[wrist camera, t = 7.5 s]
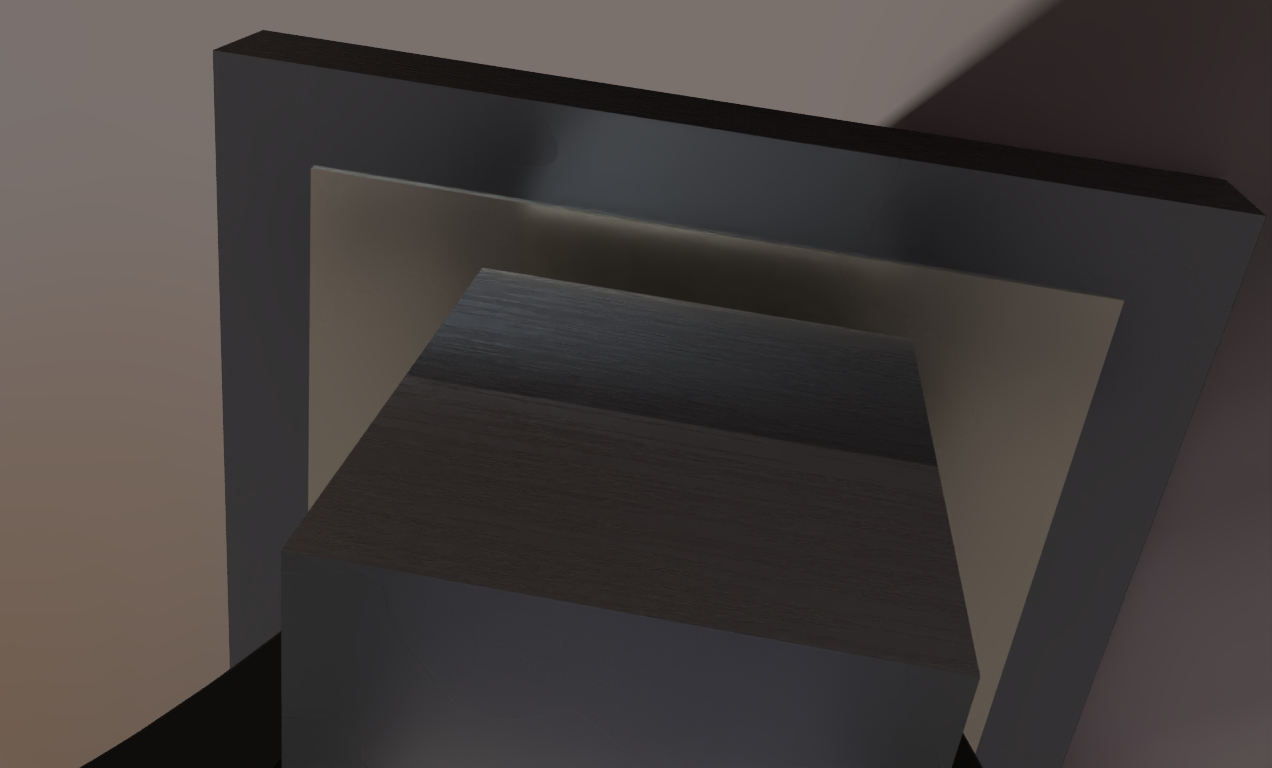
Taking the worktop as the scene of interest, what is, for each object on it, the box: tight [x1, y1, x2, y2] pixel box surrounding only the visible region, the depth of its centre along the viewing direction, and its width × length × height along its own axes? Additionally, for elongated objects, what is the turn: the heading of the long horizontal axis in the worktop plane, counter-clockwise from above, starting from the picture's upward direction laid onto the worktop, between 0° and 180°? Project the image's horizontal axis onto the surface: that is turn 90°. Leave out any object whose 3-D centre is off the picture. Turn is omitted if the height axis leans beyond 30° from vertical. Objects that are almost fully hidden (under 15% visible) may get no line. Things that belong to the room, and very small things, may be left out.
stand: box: [213, 30, 1266, 768], centre depth 14 cm, size 10×10×1 cm
